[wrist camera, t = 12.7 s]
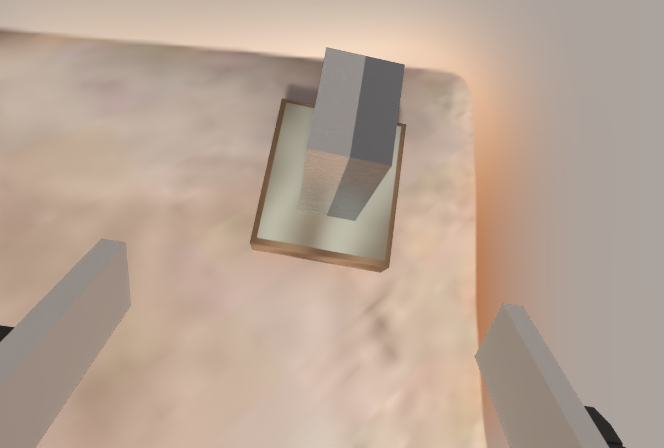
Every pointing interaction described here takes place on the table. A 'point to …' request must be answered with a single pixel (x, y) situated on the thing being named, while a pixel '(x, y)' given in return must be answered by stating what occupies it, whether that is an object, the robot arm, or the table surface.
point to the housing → (350, 133)
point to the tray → (314, 229)
